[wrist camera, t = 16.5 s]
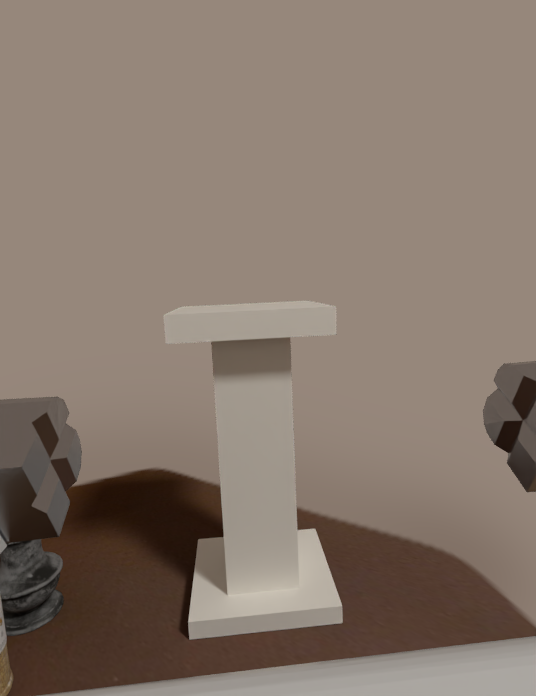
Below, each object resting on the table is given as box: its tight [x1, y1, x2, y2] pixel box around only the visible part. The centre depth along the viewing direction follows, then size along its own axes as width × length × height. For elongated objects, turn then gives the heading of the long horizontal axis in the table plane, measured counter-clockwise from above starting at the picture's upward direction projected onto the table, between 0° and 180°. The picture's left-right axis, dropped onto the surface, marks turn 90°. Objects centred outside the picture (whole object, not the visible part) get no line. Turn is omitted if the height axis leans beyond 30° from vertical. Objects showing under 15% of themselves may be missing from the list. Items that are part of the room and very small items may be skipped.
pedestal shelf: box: [164, 301, 343, 640], centre depth 38 cm, size 12×11×25 cm
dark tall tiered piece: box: [0, 539, 63, 636], centre depth 36 cm, size 6×6×12 cm
